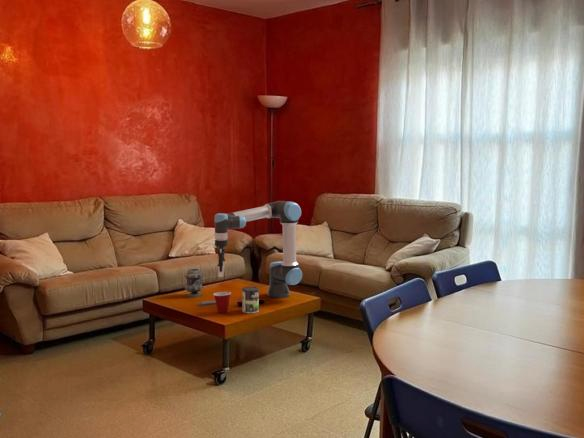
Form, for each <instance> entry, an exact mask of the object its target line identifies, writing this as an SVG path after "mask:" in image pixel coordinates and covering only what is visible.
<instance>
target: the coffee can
mask: <svg viewBox="0 0 584 438" xmlns="http://www.w3.org/2000/svg"><path fill="white" fill-rule="evenodd" d="M259 290H260V288H259V287H257V286H244V287H242V288H241V303H242V304H241V305H242V306H241V308H242V309H241V312H242V313H245V314H255V313H256V314H257V313H259V311H260V309H259V307H260V303H259V302H260V301H259V300H260V298H259V297H260V296H259V295H260V294H259V293H260V291H259Z"/></svg>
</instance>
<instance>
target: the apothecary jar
mask: <svg viewBox="0 0 584 438" xmlns="http://www.w3.org/2000/svg"><path fill="white" fill-rule="evenodd" d="M203 276H204V275H203V272H201V269H200V268H188V269H187V272H185V274H184V277H185V278H186V285H185V287H184V289H185V291H186V292H189V293H188V294H187V295H186V297H187V298H199V297H201V296H202V293H200V291H203V288H204V286H203V284H202V277H203Z"/></svg>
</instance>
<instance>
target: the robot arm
mask: <svg viewBox="0 0 584 438" xmlns="http://www.w3.org/2000/svg"><path fill="white" fill-rule="evenodd" d="M301 216H302V209H301V207H300V205H299V204H298V203H296V202H294V201H288V200H287V201H285V200H276V201H274V202H269V203H265V204H264V205H263V206H258V207H254V208H249V209H244V210H239V211H234V212H229V213H223V212H222V213H220V212H219V213H216V214H215V215H214V234H213V236H214V239H215V240H214V246H215V247H218V248H217V256H218V263H217V267H218V278H223V277H224V273H225V262H226V259H225V251H226V250H225V247H227V246H228V241H229V240H228V239H229V238H228V230H233V229H243V228H244V227H246V225H247V222H251V221H256V220H260V219H266V218H267V219H273V218H276V219H279V223H280V225H282V260H283V261H282V260H281V261H280V260H279V261H273V262H272V261H271V262H270V264H269V268H268V269H269V286H268V289H267V292H266V294H267V297H269V298H272V299H273V298H275V299H282V298H284V299H285V298H288V297H289V296H290V295H291V292H290V289H289V287H288V285H290V286H292V285H293V286H295V285H297V284H299V283H300V282H301V280H302V278H303V272H302V270H301V268H300V266H299V265H300V264H299V262H298V261H297V230H296V229H297V227H296V225H297V224H298V223H299V219H300V218H301Z"/></svg>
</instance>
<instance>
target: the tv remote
mask: <svg viewBox="0 0 584 438" xmlns="http://www.w3.org/2000/svg"><path fill="white" fill-rule="evenodd" d="M198 305H199V306H200V307H203V306H204V307H205V306H215V305H216V300H208V301H199V302H198Z"/></svg>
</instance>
